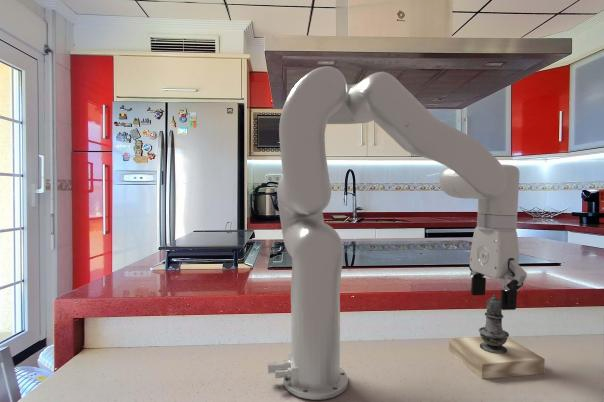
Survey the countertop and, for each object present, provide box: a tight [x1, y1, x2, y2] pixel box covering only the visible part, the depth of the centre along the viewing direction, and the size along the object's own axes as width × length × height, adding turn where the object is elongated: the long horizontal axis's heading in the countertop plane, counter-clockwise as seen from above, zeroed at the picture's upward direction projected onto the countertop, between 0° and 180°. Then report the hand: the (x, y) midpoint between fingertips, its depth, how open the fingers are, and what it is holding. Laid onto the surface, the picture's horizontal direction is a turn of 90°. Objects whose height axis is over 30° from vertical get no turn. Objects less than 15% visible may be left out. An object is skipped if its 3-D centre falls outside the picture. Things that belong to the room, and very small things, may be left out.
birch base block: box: [448, 336, 546, 380], centre depth 80 cm, size 14×12×3 cm
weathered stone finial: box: [478, 293, 510, 354], centre depth 80 cm, size 6×6×12 cm
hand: (492, 301), depth 79 cm, fingers open, 9 cm apart
